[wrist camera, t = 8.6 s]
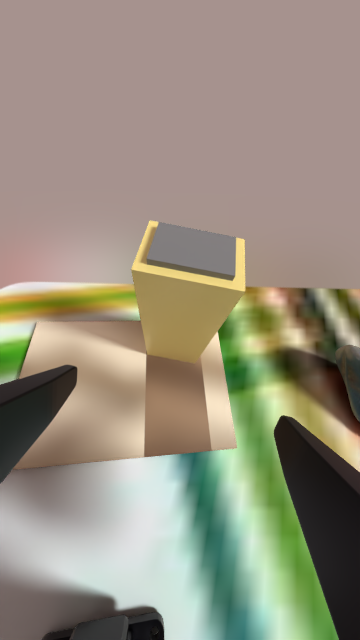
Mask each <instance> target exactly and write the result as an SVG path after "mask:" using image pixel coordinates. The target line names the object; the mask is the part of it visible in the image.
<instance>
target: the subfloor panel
mask: <svg viewBox="0 0 360 640" xmlns="http://www.w3.org/2000/svg"><path fill="white" fill-rule="evenodd" d="M67 364H68V365H73V366H76V367H77V369H78V371H77V384H76V386H75V388H74V390H73V391H72V393H71V394H70V396H69V397H68V399H67V400H66V402H65V403H64V405H63V406H62V407H61V409H60V410H59V412H58V413H57V415H56V416H55V418H54V419H53V420H52V422H51V423H50V424H49V426H48V427H47V428H46V429H45V430H44V432H43V433H42V434H41V435H40V436H39V438H38V439H37V440H36V441H35V443H34V444H33V445H32V446H31V447H30V449H29V450H28V451H27V452H26V453H25V455H24V456H23V457H22V458H21V460H20V461H19V462H18V463H17V464H16V466H15V467H14V468H13V469H12V470H16V469H26V468H36V467H47V466H57V465H68V464H78V463H88V462H99V461H109V460H120V459H130V458H140V457H151V456H161V455H172V454H182V453H192V452H203V451H213V450H224V449H234V448H237V444H236V438H235V432H234V426H233V420H232V414H231V408H230V402H229V396H228V391H227V385H226V379H225V373H224V367H223V361H222V355H221V349H220V343H219V337H218V331H217V333H216V334H215V335H214V337H213V338H212V340H211V341H210V343H209V344H208V345H207V347H206V348H205V350H204V351H203V353H202V354H201V355H200V357H199V358H198V360H197V361H196V363H190V362H184V361H179V360H174V359H168V358H163V357H157V356H152V355H147V351H146V345H145V340H144V335H143V329H142V324H141V321H58V322H37V324H36V327H35V330H34V333H33V336H32V339H31V342H30V346H29V349H28V352H27V355H26V358H25V361H24V364H23V367H22V370H21V373H20V376H19V379H21V378H24V377H27V376H31V375H34V374H37V373H40V372H44V371H47V370H50V369H53V368H57V367H60V366H63V365H67Z"/></svg>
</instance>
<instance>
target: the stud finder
mask: <svg viewBox="0 0 360 640" xmlns="http://www.w3.org/2000/svg"><path fill="white" fill-rule="evenodd" d="M244 244H245V240H244V239H240V238H236V237H231V236H227V235H222V234H216V233H212V232H207V231H201V230H196V229H191V228H186V227H181V226H176V225H171V224H166V223H161V222H154V221H149V224H148V227H147V229H146V232H145V235H144V237H143V240H142V243H141V245H140V248H139V251H138V253H137V256H136V258H135V261H134V264H133V266H132V269H131V270H132V276H133V281H134V287H135V292H136V297H137V303H138V308H139V313H140V319H141V324H142V329H143V335H144V340H145V345H146V351H147V355H152V356H157V357H163V358H168V359H174V360H179V361H184V362H190V363H196V361H197V360H198V358H199V357H200V355H201V354H202V353H203V351H204V350H205V348H206V347H207V345H208V344H209V343H210V341H211V340H212V338H213V337H214V335H215V334H216V333H217V331H218V330H219V328H220V327H221V325H222V324H223V323H224V321H225V320H226V318H227V317H228V315H229V314H230V313H231V311H232V310H233V308H234V307H235V305H236V304H237V303H238V301H239V300H240V298H241V297H242V295H243V294H244V293H245V245H244Z"/></svg>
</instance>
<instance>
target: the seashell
mask: <svg viewBox="0 0 360 640" xmlns="http://www.w3.org/2000/svg"><path fill="white" fill-rule="evenodd" d="M335 357H336V363H337V366H338V368H339V371H340V373H341V375H342V377H343V380H344V383H345V385H346V389H347V392H348V397H349V401H350V405H351V408H352V411H353V413H354V415H355V417H356V418H357V420H358V421H359V422H360V348H359V347H356V346H353V345H346V346H343V347H341V348H339V349H338V350H337V351H336V354H335Z"/></svg>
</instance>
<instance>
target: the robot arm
mask: <svg viewBox="0 0 360 640" xmlns="http://www.w3.org/2000/svg"><path fill="white" fill-rule="evenodd" d="M77 371H78V369H77V367H76V366H73V365H68V364H67V365H63V366H60V367H57V368H53V369H50V370H47V371H44V372H40V373H37V374H34V375H31V376H27V377H24V378H21V379H17V380H14V381H11V382H8V383H4V384H1V385H0V484H1V483H2V481H3V480H4V479H5V478H6V476H7V475H8V474H9V473H10V472H11V470H12V469H13V468H14V467H15V466H16V464H17V463H18V462H19V461H20V460H21V458H22V457H23V456H24V455H25V453H26V452H27V451H28V450H29V449H30V447H31V446H32V445H33V444H34V443H35V441H36V440H37V439H38V438H39V436H40V435H41V434H42V433H43V432H44V430H45V429H46V428H47V427H48V426H49V424H50V423H51V422H52V420H53V419H54V418H55V416H56V415H57V413H58V412H59V410H60V409H61V407H62V406H63V405H64V403H65V402H66V400H67V399H68V397H69V396H70V394H71V393H72V391H73V390H74V388H75V386H76V384H77ZM274 438H275V442H276V446H277V450H278V454H279V458H280V462H281V466H282V470H283V474H284V477H285V480H286V484H287V487H288V490H289V493H290V496H291V499H292V502H293V504H294V507H295V510H296V513H297V516H298V519H299V522H300V525H301V528H302V531H303V534H304V537H305V540H306V543H307V546H308V549H309V552H310V555H311V558H312V561H313V564H314V567H315V570H316V573H317V576H318V579H319V582H320V585H321V588H322V591H323V594H324V597H325V600H326V603H327V606H328V609H329V611H330V614H331V617H332V620H333V623H334V626H335V629H336V632H337V635H338V638H339V640H360V472H358V471H357V470H356V469H355V468H354V467H352V466H351V465H350V464H349V463H347V462H346V461H345V460H344V459H343V458H341V457H340V456H339V455H338V454H336V453H335V452H334V451H333V450H332V449H330V448H329V447H328V446H327V445H325V444H324V443H323V442H322V441H321V440H319V439H318V438H317V437H316V436H314V435H313V434H312V433H311V432H310V431H308V430H307V429H306V428H305V427H303V426H302V425H301V424H300V423H299V422H297V421H296V420H295V419H294V418H292V417H288V416H284V415H283V416H281V417H280V419H279V421H278V423H277V425H276V427H275V429H274ZM154 626H155V627H157V628H158V629H159V631H158V632H157V633H156V634H155V635H154V634H152V633H151V629H152V628H153V627H154ZM41 640H164V622H163V618H162V616H161V615H160V614H159V613H157V612H153V613H148V614H143V615H138V616H133V617H128V618H127V617H126V616H125V615H119V616H114V617H109V618H104V619H99V620H94V621H89V622H83V623H79V624H78V625H77V626H76V628H72V629H67V630H62V631H57V632H52V633H48V634H46V635H45V636H44V637H43V638H42V639H41Z"/></svg>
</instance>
